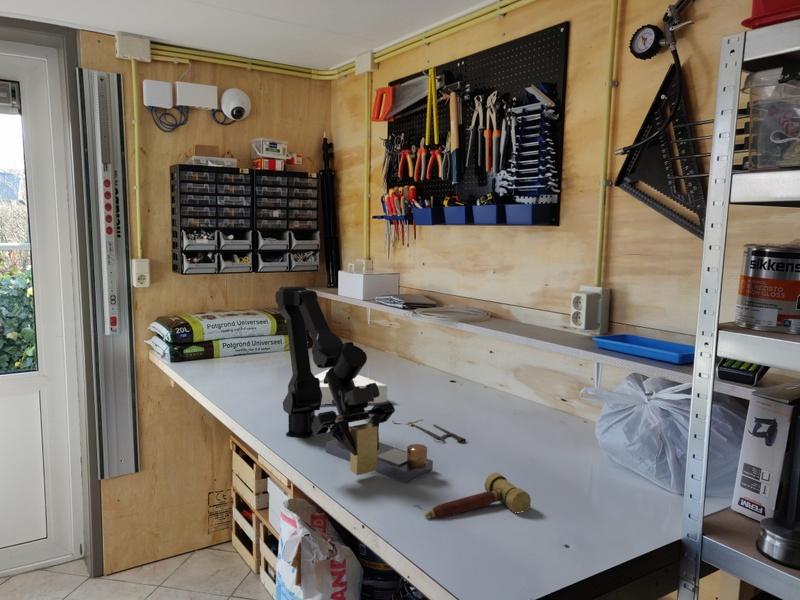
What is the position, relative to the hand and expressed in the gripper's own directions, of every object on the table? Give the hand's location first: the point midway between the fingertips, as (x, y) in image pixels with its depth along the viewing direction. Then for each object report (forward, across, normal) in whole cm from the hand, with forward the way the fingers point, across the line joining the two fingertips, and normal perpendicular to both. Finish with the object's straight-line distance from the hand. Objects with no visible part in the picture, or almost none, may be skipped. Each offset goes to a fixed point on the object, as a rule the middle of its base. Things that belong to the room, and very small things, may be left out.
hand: (366, 452), depth 130 cm
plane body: (-1, +8, +10) cm, 13 cm away
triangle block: (-34, +26, +45) cm, 63 cm away
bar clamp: (-8, +30, +18) cm, 36 cm away
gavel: (+20, +12, -11) cm, 26 cm away
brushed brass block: (+2, 0, +4) cm, 5 cm away
